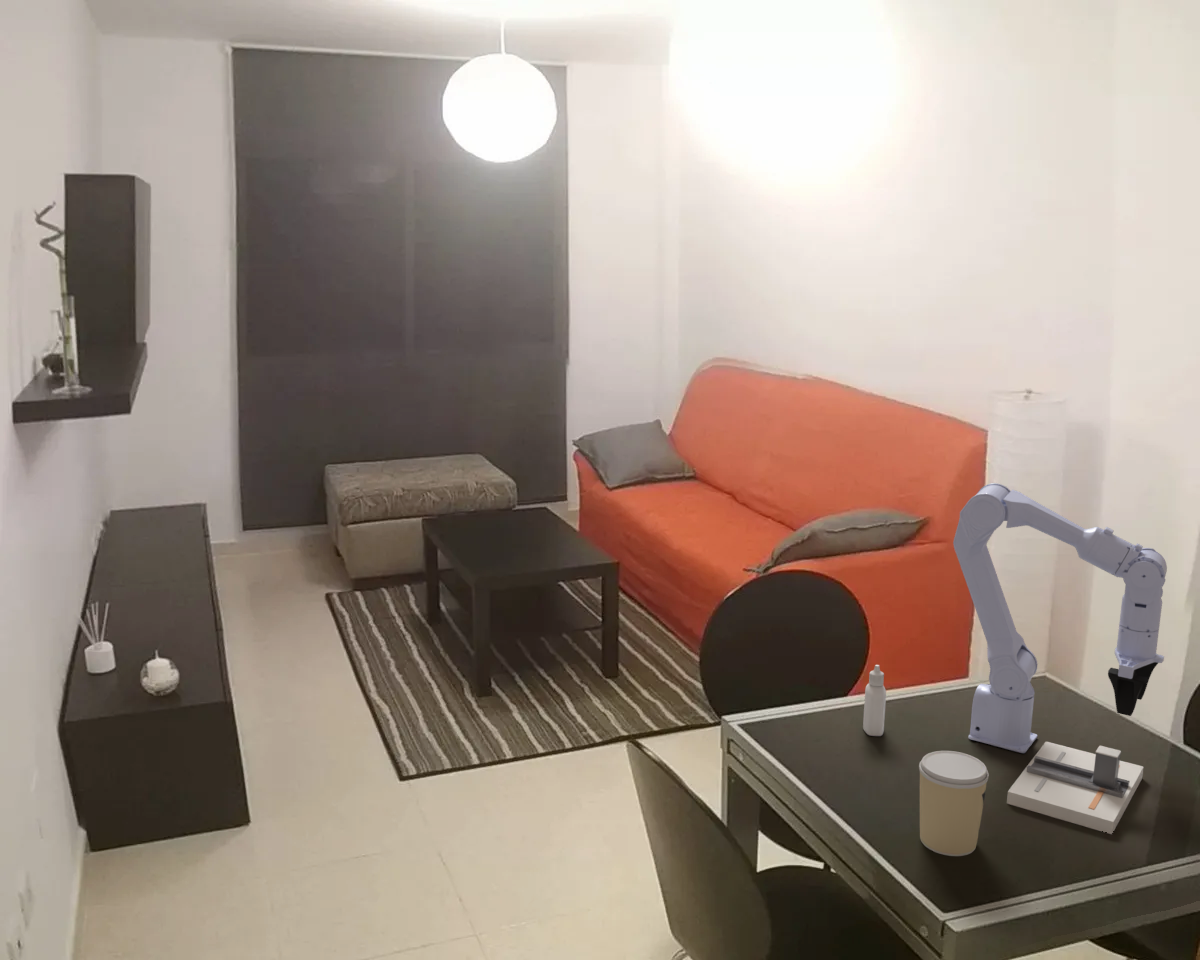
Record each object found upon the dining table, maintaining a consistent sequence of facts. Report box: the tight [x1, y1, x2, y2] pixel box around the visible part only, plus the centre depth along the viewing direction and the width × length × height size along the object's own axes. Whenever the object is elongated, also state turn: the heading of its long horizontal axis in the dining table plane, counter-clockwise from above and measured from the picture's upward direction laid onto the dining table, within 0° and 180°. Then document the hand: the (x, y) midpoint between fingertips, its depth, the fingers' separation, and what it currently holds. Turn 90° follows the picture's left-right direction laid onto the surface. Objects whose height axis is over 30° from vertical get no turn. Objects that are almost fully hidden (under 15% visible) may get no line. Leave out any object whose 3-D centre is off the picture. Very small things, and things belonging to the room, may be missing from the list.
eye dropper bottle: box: [862, 664, 887, 737], centre depth 194 cm, size 4×6×12 cm
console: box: [1006, 741, 1144, 835], centre depth 175 cm, size 15×21×3 cm
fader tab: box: [1089, 745, 1122, 790], centre depth 172 cm, size 4×2×6 cm, turn 54°
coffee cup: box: [918, 750, 990, 857], centre depth 159 cm, size 9×9×12 cm
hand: (1129, 705), depth 181 cm, fingers open, 7 cm apart
